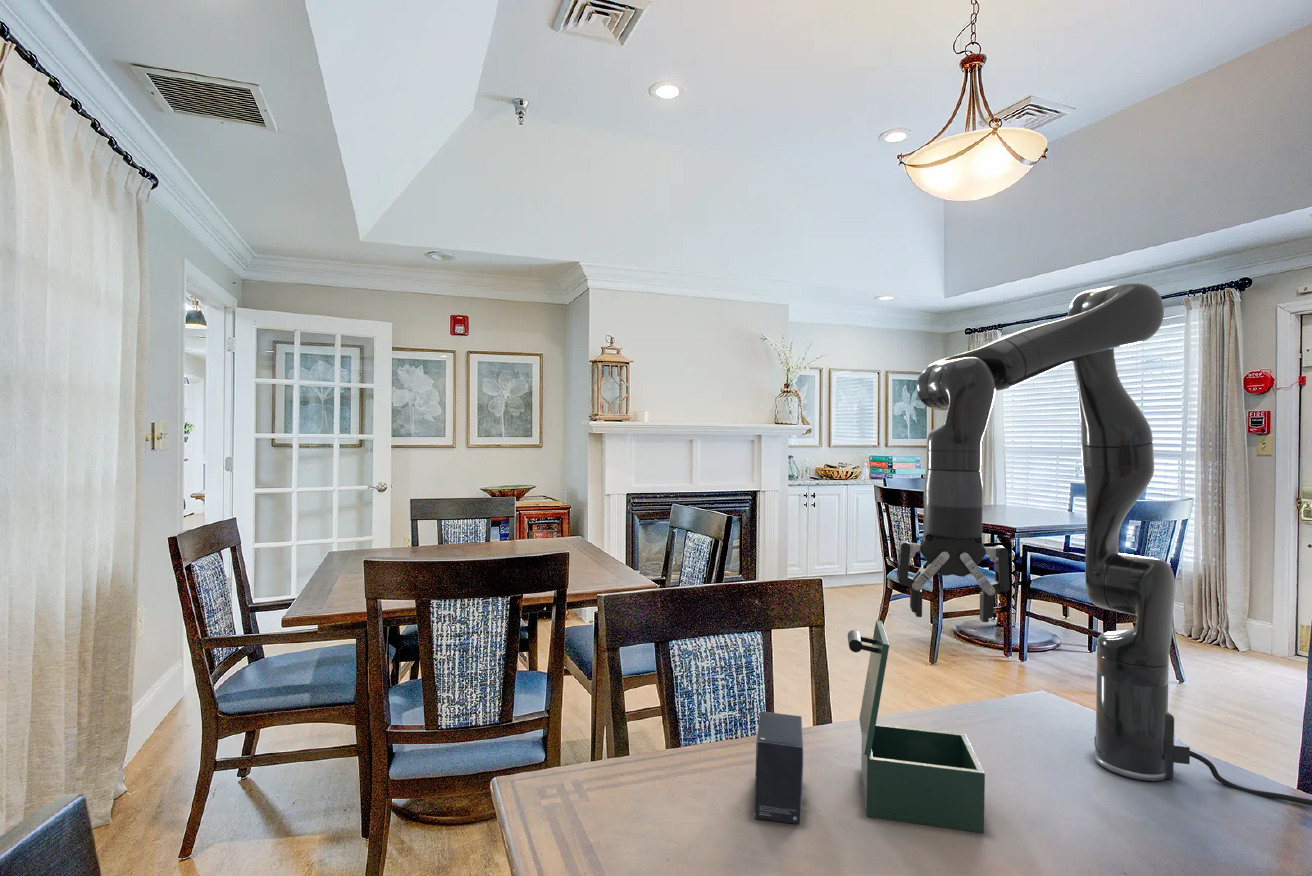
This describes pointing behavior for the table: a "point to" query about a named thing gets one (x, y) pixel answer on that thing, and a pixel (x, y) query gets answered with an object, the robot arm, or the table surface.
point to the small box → (779, 768)
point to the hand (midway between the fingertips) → (950, 618)
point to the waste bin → (923, 778)
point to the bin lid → (871, 679)
